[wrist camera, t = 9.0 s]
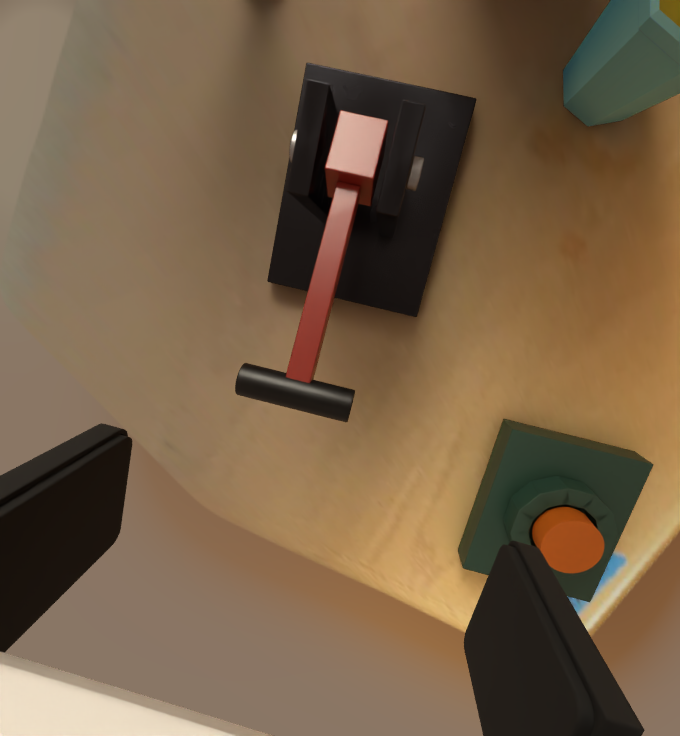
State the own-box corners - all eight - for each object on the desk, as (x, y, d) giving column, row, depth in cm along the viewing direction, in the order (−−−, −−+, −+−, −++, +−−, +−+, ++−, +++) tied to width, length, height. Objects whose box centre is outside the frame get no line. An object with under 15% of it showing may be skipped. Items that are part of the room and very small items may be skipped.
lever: (347, 421, 19) (347, 423, 16) (243, 395, 19) (228, 393, 17) (412, 160, 20) (420, 126, 17) (313, 138, 20) (308, 102, 18)
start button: (542, 499, 28) (553, 514, 26) (600, 514, 28) (614, 530, 26) (523, 547, 29) (532, 564, 27) (579, 562, 29) (591, 580, 27)
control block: (503, 418, 31) (520, 439, 27) (635, 451, 30) (672, 477, 26) (457, 549, 34) (467, 585, 30) (577, 581, 33) (602, 622, 29)
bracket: (415, 315, 30) (435, 341, 18) (271, 281, 30) (204, 285, 19) (472, 106, 26) (541, -23, 15) (309, 71, 27) (256, -79, 15)
